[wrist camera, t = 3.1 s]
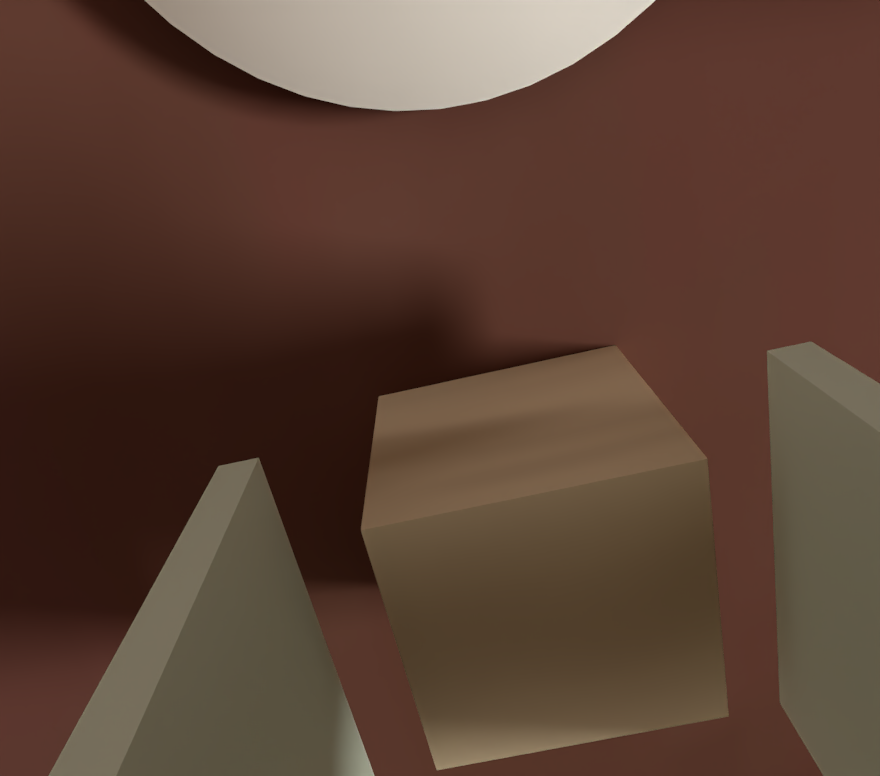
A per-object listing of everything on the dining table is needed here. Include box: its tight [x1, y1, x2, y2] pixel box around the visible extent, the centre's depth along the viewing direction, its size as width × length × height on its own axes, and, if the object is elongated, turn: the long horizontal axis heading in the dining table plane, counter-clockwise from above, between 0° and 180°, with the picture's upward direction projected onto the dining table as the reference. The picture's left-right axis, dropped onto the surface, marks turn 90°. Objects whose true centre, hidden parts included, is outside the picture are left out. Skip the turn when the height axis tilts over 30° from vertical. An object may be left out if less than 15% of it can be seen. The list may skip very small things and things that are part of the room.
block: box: [361, 345, 729, 770], centre depth 10 cm, size 4×4×4 cm
